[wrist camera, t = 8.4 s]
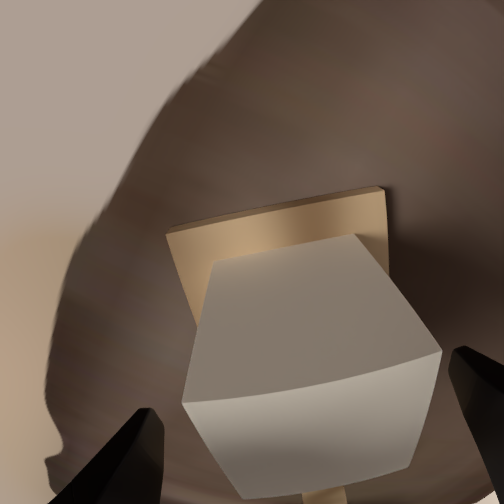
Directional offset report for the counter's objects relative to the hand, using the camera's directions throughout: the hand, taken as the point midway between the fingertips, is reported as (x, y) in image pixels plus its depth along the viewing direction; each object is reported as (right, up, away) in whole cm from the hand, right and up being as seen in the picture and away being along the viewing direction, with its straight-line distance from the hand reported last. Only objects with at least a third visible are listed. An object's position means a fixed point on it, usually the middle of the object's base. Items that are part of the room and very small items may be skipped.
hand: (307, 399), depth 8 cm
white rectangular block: (0, +2, +4) cm, 5 cm away
